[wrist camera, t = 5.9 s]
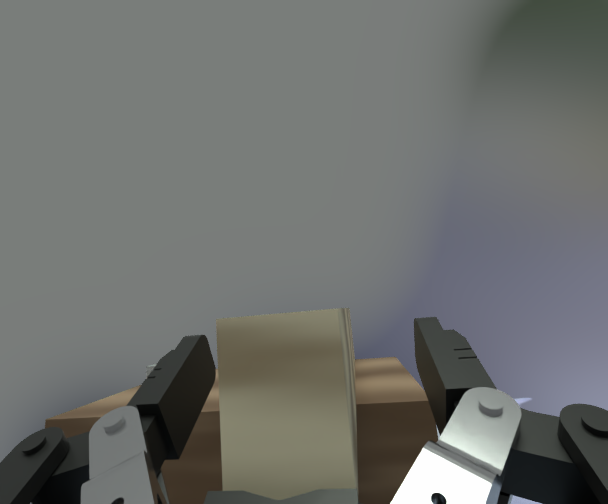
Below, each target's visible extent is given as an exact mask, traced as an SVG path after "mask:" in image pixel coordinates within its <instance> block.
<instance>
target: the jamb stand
mask: <svg viewBox="0 0 608 504" xmlns="http://www.w3.org/2000/svg"><path fill="white" fill-rule="evenodd" d="M140 386H141V385H139V386H137V387H134V388H131V389H129V390H126V391H123V392H120V393H118V394H115V395H112V396H110V397H107V398H104V399H101V400H98V401H96V402H93V403H90V404H87V405H85V406H82V407H79V408H76V409H74V410H71V411H68V412H65V413H63V414H60V415H57V416H54V417H52V418H49V419H46V423H45V428H49V427H59V428H61V429H62V430H63V432H64V434H65V436H66V438H69V437H72V436H76V435H79V434H82V433H85V432H89V431H90V430H91V428H92V426H93V425H94V424H95V423H96V422H97V421H98V420H99V419H100V418H101V417H102V416H104V415H105V414H107V413H108V412H110V411H112V410H114V409H116V408H119V407H123V406H126V405H127V404H128V402H129V401H130V400H131V398H132V397H133V396H134V394H135V393H136V392H137V390H138V389H139V388H140ZM355 387H356V424H357V462H358V499H359V503H363V504H391V502H392V500H393V499H394V497H395V495H396V493H397V492H398V490H399V488H400V487H401V485H402V483H403V481H404V480H405V478H406V476H407V475H408V473H409V471H410V469H411V468H412V466H413V464H414V463H415V461H416V459H417V457H418V456H419V454H420V452H421V451H422V449H423V447H424V446H425V444H426V443H427V442H428V441H430V440H432V441H434V442H437V441H438V435H437V428H436V422H435V419H434V416H433V413H432V410H431V407H430V404H429V401H428V398H427V396H426V393H425V391H424V390H423V389H422V387H421V386H420V385H419V384H418V383H417V382H416V380H415V379H414V378H413V377H412V376H411V375H410V373H409V372H408V371H407V370H406V369H405V368H404V367H403V365H402V364H401V363H400V362H399V361H398V359H397V358H396V357H387V358H373V359H357V360H355ZM161 469H162V471H163V474H164V478H165V482H166V486H167V490H168V494H169V498H170V502H171V504H204V501H205V498H206V495H207V492H208V491H223V485H222V459H221V433H220V407H219V380H218V369H216V377H215V382H214V385H213V387H212V389H211V391H210V393H209V395H208V398H207V400H206V402H205V404H204V406H203V408H202V411H201V413H200V415H199V417H198V419H197V421H196V424H195V426H194V428H193V430H192V432H191V434H190V437H189V439H188V441H187V443H186V445H185V447H184V450H183V452H182V454H181V456H180V458H179V459H177V460H165V461H164V463H163V465H162V467H161Z"/></svg>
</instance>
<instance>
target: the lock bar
mask: <svg viewBox="0 0 608 504" xmlns="http://www.w3.org/2000/svg"><path fill="white" fill-rule="evenodd" d="M216 325H217V326H216V328H217V354H218V380H219V407H220V433H221V459H222V485H223V491H246V492H250V493H253V494H257V495H261V496H264V497H268V498H271V499H275V500H283V499H286V498H290V497H293V496H297V495H300V494H304V493H307V492H311V491H314V490H318V489H354V488H357V491H358V462H357V424H356V387H355V357H354V348H353V338H352V330H351V319H350V310H349V308H340V309H327V310H315V311H304V312H292V313H280V314H269V315H258V316H246V317H234V318H222V319H216Z"/></svg>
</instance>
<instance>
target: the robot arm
mask: <svg viewBox="0 0 608 504" xmlns="http://www.w3.org/2000/svg"><path fill="white" fill-rule="evenodd" d="M414 335H415V336H414V337H415V357H416V363H417V368H418V372H419V375H420V378H421V381H422V384H423V387H424V390H425V393H426V396H427V398H428V401H429V404H430V407H431V410H432V413H433V416H434V419H435V422H436V425H437V428H438V430H439V433H440V438H439V440H438V441H437V442H434V441H432V440H430V441H428V442H427V443H426V444H425V446H424V447H423V449H422V451H421V452H420V454H419V456H418V457H417V459H416V461H415V463H414V464H413V466H412V468H411V469H410V471H409V473H408V475H407V476H406V478H405V480H404V481H403V483H402V485H401V487H400V488H399V490H398V492H397V493H396V495H395V497H394V499H393V500H392V502H391V504H511V500H512V497H513V495H514V496H518V497H521V498H525V499H528V500H532V501H535V502H539V503H542V504H608V411H607V410H604V409H602V408H599V407H596V406H592V405H587V404H572V405H568V406H566V407H564V408H563V409H562V411H561V412H560V417H556V416H551V415H546V414H540V413H536V412H531V411H528V410H525V409H522V408H520V407H519V405H518V404H517V402H516V401H515V400H514V399H513V398H512V397H510V396H509V395H507V394H506V393H504V392H502V391H499V390H497V389H496V387H495V386H494V384H493V382H492V380H491V379H490V377H489V376H488V374H487V373H486V371H485V369H484V368H483V366H482V364H481V363H480V361H479V359H477V356H476V354H475V353H474V351H473V350H472V348H471V346H470V345H469V343H468V342H467V340H466V338H465V337H463V336H462V335H461V334H459V333H458V332H456V331H455V330H443V329H442V327H441V325H440V323H439V321H438V319H437V318H436V317H427V318H415V319H414ZM215 377H216V369H215V365H214V361H213V357H212V354H211V351H210V347H209V344H208V340H207V338H206V336H205V335H195V336H185V337H183V339H182V340H181V342H180V343H179V344H178V346H177V347H176V349H175V350H171V351H170V352H169V353H168V354H166V355H165V356H164V357H162V359H160V360H159V362H158V363H157V365H156V366H155V367H154V369H153V371H151V373H150V374H149V375H148V377H147V379H145V381H144V382H143V383H142V385H141V386H140V388H139V389H138V390H137V392H136V393H135V394H134V396H133V397H132V398H131V400H130V401H129V402H128V404H127V405H126V406H123V407H119V408H116V409H114V410H112V411H110V412H108V413H107V414H105V415H104V416H102V417H101V418H100V419H99V420H98V421H97V422H96V423H95V424H94V425H93V426H92V428H91V430H90V431H89V432H85V433H82V434H79V435H76V436H72V437H69V438H66V436H65V434H64V432H63V430H62V429H61V428H59V427H49V428H45V429H42V430H40V431H38V432H36V433H34V434H32V435H30V436H29V437H27V438H26V439H24V440H23V441H21V442H20V443H19V444H18V445H17V446H16V447H15V448H14V449H13V450H12V451H11V452H10V453H9V454H8V455H7V456H6V457H5V458H4V460H3V461H2V462H1V463H0V504H30V502H31V503H32V504H171V502H170V498H169V494H168V490H167V486H166V482H165V478H164V474H163V471H162V469H161V467H162V465H163V463H164V461H165V460H177V459H179V458H180V456H181V454H182V452H183V450H184V447H185V445H186V443H187V441H188V439H189V437H190V434H191V432H192V430H193V428H194V426H195V424H196V421H197V419H198V417H199V415H200V413H201V411H202V408H203V406H204V404H205V402H206V400H207V398H208V395H209V393H210V391H211V389H212V387H213V385H214V382H215ZM204 504H363V503H359V499H358V491H357V488H354V489H318V490H314V491H311V492H307V493H304V494H300V495H297V496H293V497H290V498H286V499H283V500H275V499H271V498H268V497H264V496H261V495H257V494H253V493H250V492H246V491H208V492H207V495H206V498H205V501H204Z"/></svg>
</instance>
